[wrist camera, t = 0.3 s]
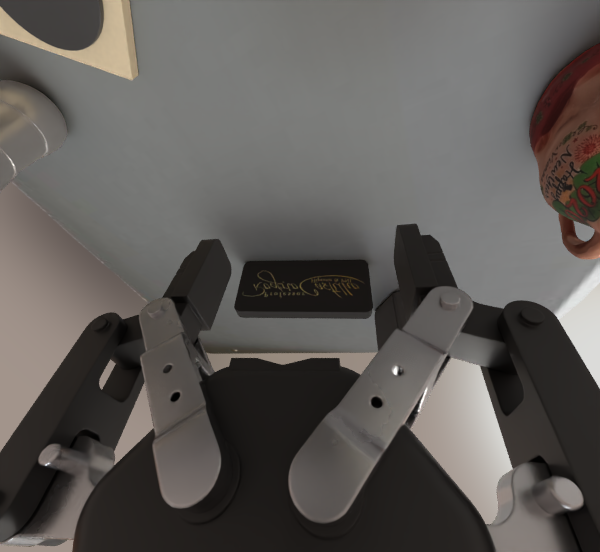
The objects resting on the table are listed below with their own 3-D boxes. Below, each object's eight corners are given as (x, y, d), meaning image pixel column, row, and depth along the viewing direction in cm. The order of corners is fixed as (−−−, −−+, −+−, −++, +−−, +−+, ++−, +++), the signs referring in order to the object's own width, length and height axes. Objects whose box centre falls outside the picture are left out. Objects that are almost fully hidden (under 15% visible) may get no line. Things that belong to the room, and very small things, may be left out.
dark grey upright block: (389, 315, 60) (400, 387, 51) (371, 312, 60) (379, 384, 50) (413, 292, 53) (430, 371, 44) (393, 288, 52) (407, 368, 43)
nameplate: (247, 268, 50) (236, 317, 44) (244, 261, 49) (233, 311, 43) (366, 267, 48) (372, 318, 42) (367, 259, 46) (373, 312, 40)
